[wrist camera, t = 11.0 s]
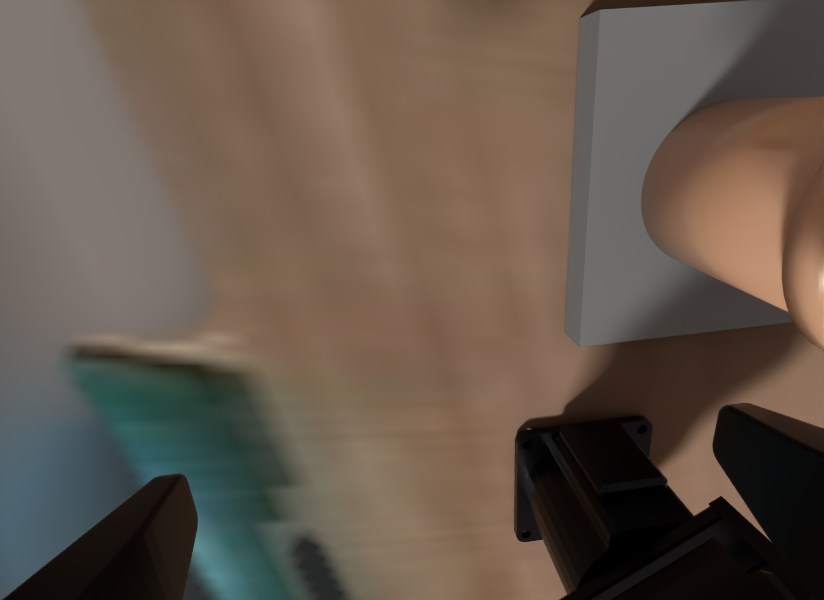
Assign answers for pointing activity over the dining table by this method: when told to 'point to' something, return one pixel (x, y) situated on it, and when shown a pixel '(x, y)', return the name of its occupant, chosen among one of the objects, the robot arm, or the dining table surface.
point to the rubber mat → (640, 138)
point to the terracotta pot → (747, 201)
